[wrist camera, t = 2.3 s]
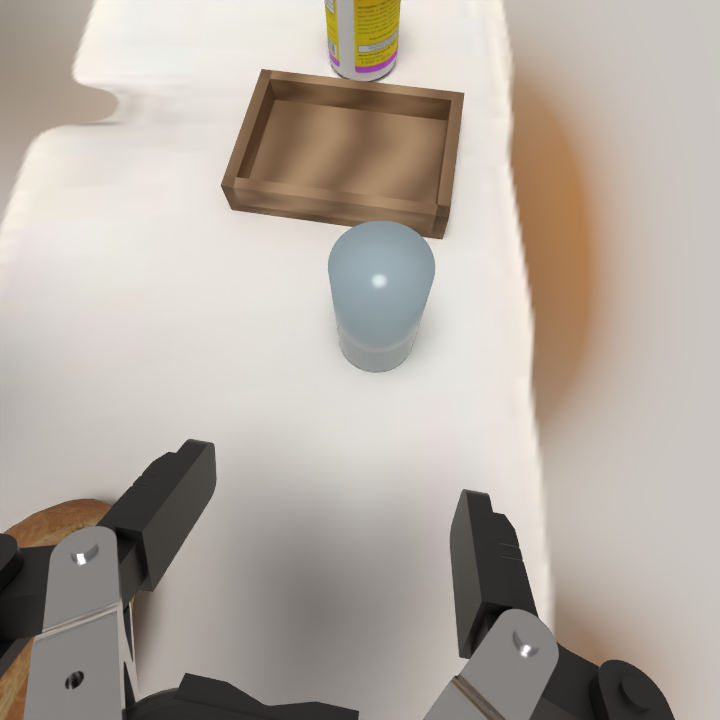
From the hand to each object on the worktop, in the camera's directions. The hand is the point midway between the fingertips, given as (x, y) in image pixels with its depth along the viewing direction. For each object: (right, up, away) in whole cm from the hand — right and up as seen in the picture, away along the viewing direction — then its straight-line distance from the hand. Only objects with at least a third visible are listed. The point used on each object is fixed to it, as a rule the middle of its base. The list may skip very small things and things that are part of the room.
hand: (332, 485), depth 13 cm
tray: (0, +21, +23) cm, 31 cm away
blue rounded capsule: (+2, +6, +18) cm, 19 cm away
